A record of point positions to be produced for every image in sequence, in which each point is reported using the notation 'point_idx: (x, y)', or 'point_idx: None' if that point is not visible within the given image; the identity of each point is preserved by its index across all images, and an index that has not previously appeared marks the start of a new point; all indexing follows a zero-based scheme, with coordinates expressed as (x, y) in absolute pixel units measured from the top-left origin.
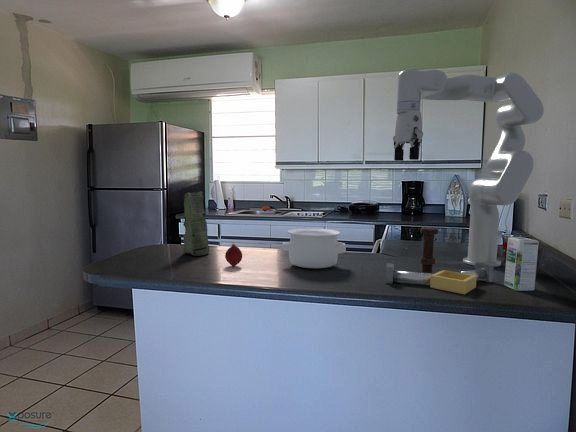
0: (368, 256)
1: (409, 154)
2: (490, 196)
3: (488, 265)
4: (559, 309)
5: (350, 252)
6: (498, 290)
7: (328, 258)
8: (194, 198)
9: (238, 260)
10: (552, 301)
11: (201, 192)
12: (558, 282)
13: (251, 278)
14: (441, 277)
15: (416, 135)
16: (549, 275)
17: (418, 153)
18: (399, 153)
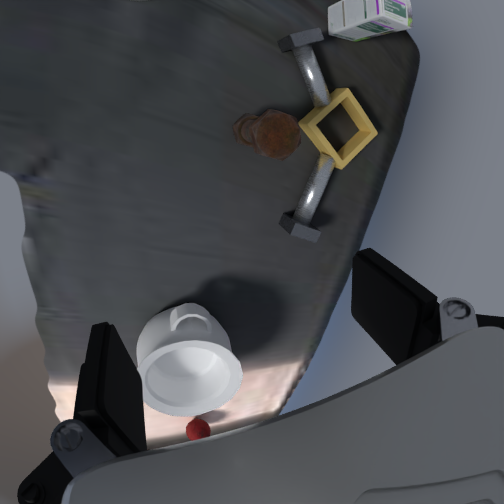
0: (64, 220)
1: (373, 336)
2: None
3: (318, 37)
4: (416, 57)
5: (29, 256)
6: (351, 64)
7: (222, 327)
8: None
9: (205, 422)
10: (394, 36)
11: None
12: None
13: (259, 392)
14: (353, 157)
15: (475, 437)
16: None
17: (397, 273)
18: (129, 402)
